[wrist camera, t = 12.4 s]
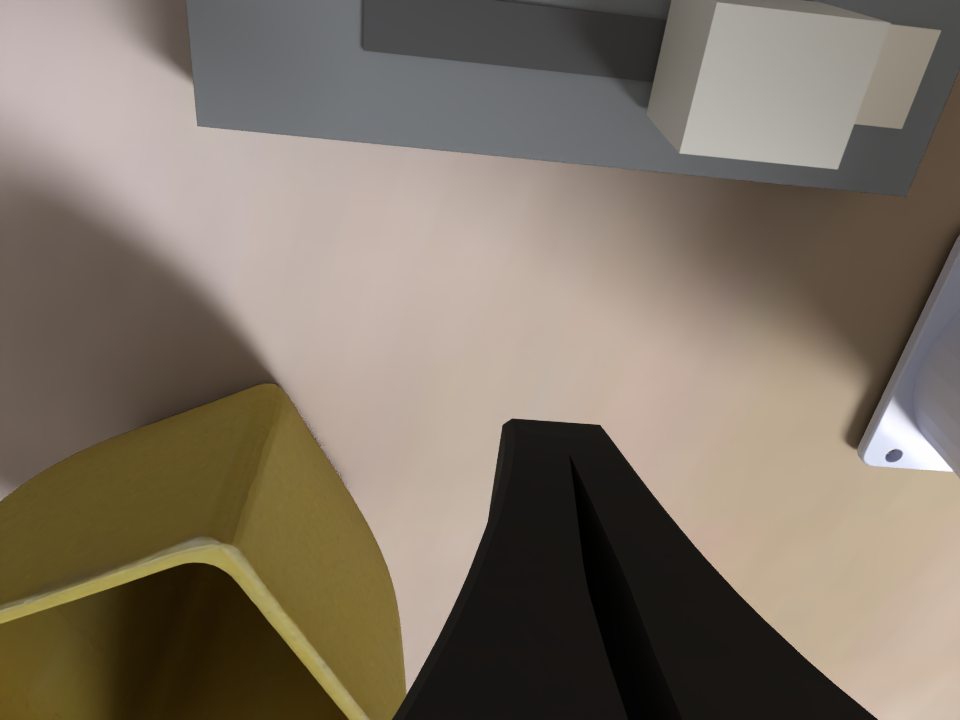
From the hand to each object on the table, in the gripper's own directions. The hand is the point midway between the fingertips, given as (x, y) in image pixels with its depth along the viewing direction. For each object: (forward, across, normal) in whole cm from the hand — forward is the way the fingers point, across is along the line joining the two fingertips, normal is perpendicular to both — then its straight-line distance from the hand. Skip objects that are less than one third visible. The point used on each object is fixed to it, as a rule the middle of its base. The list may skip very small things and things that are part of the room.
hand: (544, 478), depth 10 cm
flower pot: (+11, +7, +9) cm, 16 cm away
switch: (+8, -4, -4) cm, 10 cm away
